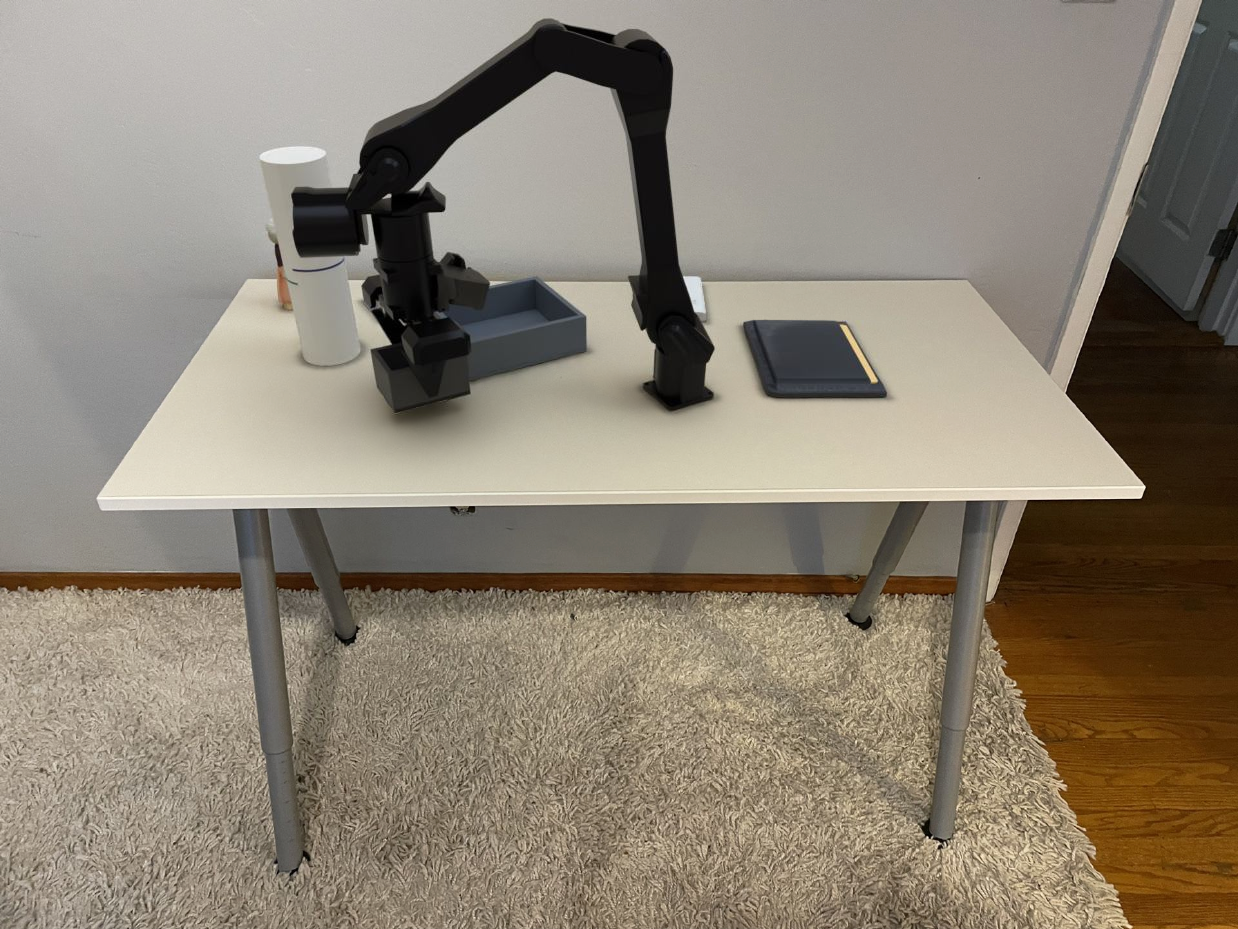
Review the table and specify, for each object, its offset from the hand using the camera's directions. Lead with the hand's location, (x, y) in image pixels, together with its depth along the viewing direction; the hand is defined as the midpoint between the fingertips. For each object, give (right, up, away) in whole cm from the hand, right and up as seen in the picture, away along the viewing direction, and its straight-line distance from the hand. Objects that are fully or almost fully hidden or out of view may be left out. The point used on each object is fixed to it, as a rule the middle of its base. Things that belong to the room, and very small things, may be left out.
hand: (422, 382), depth 96 cm
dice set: (-9, +13, +25) cm, 30 cm away
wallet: (+48, +4, +14) cm, 50 cm away
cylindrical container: (-15, +5, +13) cm, 20 cm away
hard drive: (+31, +14, +27) cm, 44 cm away
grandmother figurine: (-24, +13, +24) cm, 37 cm away
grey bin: (+7, +7, +16) cm, 19 cm away
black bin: (0, -1, +1) cm, 1 cm away
